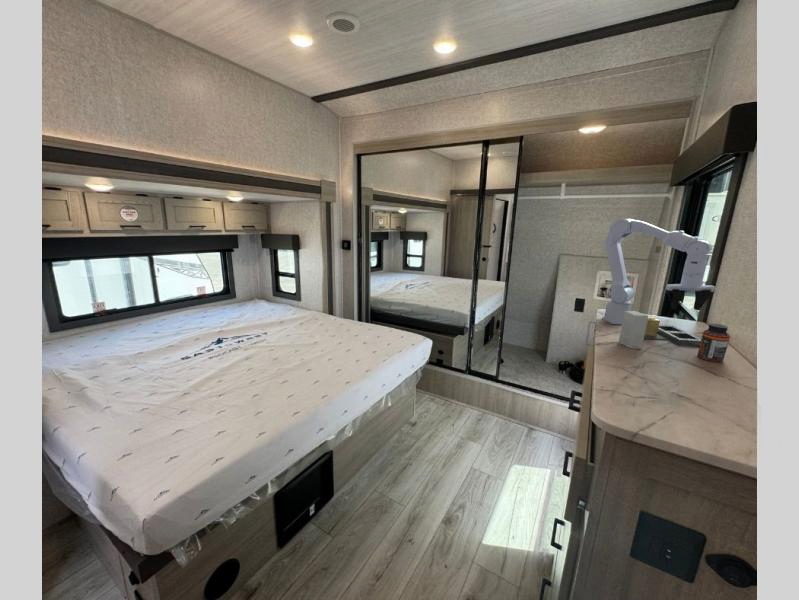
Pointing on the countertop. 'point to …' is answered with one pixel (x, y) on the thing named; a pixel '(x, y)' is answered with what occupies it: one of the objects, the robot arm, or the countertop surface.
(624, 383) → the countertop surface
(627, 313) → the skincare box
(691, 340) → the grey rectangular frame
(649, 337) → the mat
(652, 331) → the gold drawer box
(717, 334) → the supplement bottle
